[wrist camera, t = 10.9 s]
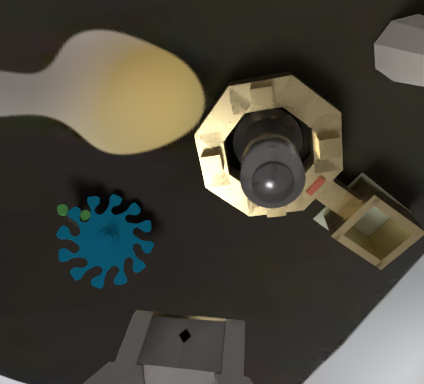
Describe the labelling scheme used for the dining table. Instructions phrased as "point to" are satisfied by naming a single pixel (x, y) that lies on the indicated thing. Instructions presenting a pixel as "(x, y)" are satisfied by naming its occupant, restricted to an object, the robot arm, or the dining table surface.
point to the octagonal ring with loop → (313, 165)
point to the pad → (369, 220)
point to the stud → (270, 158)
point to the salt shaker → (402, 50)
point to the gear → (103, 239)
